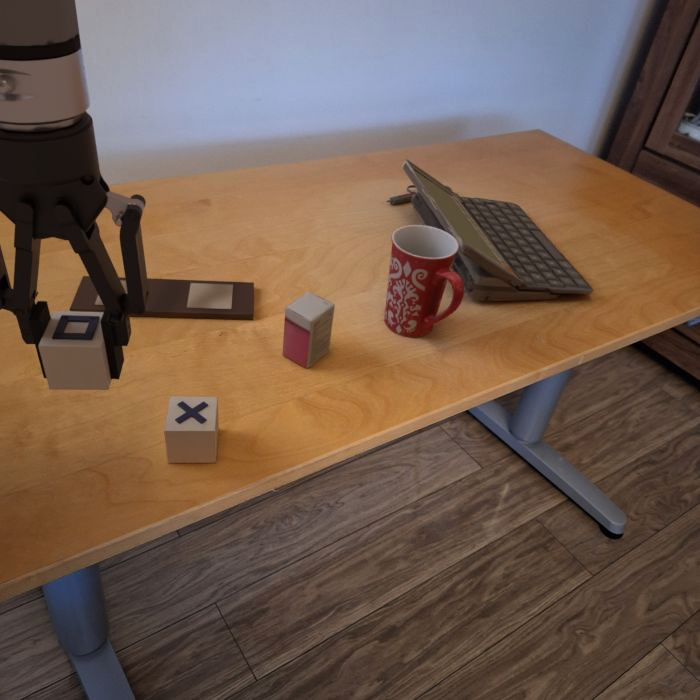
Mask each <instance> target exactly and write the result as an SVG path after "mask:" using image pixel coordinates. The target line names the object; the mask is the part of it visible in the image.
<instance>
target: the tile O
mask: <svg viewBox="0 0 700 700" xmlns="http://www.w3.org/2000/svg"><path fill="white" fill-rule="evenodd" d="M103 313H104V312H78V311H70V310H54V311H52V314H51V315H50V316H51V319H50V321H49V323H48V326H47V328H46V330H45V332H44V335H43V337H42V339H41V341H40V343H39V345H38V347H39V351H40V354H41V358H42V362H43V366H44V370H45V374H46V377H47V378H46V381H47V385H48V388H49V389H48V390H55V391H56V390H57V391H59V390H62V391H63V390H68V391H69V390H70V391H77V390H78V391H109V390H110V387H111V384H112V380H113V379H111V377H110V371H109V365H108V359H107V354H106V348H105V342H104V339H103V334H102V328H101V319H102V316H103Z"/></svg>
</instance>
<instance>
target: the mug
mask: <svg viewBox="0 0 700 700" xmlns="http://www.w3.org/2000/svg"><path fill="white" fill-rule="evenodd" d="M390 239H391V253H390V259H389V270H388V279H387V288H386V299H385V307H384V316H383V320H384V323H385V325H386V326H387V328H388V329H389V330H390V331H392V332H394V333H396V334H398V335H401V336H403V337H404V336H405V337H409V338H419V337H423V336H426V335H429V334H430V333H431V332H432V331H433V329H434V326H435V324H438V323H439V322H441V321H443V320H446V319H447V318H448V317H450V316H451V315H453V314H454V313H455V312H456V311H457V310H458V309H459V307H460V306H461V304H462V301H463V299H464V294H465V290H464V284H463V281H462V279H461V277H460V276H459V275H458V274H457V273H456V272H454V271H452V269H451V267H452V264H453V261H454V257H455V254H456V253H457V251H458V249H459V244H458V242H457V240H456V239H455V238H454V237H453V236H452V235H450V234H449V233H447V232H445V231H443V230H441V229H438V228H435V227H431V226H425V225H423V224H408V225H404V226H401V227H398V228H397V229H395V230H394V231H393V233H391V237H390ZM448 282H449V284H450V285H451V288H452V297H451V301H450V304H449V306H448V307H447V308H446V309H445V310H444V311H443V312H441V313H440V314H439V310H440V306H441V303H442V300H443V296H444V293H445V289H446V286H447V283H448Z"/></svg>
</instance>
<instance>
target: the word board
mask: <svg viewBox="0 0 700 700" xmlns="http://www.w3.org/2000/svg"><path fill="white" fill-rule="evenodd" d="M118 277H119V279H120V281H121V283H122V285H123V288H124V290H125V292H126V294H127V293H128V292H127V285H126V279H125V276H123V277H121V276H118ZM147 280H148V288H149V296H148V300H147V304H146V308H145V312H144V313H143V314H141V315H136V314H134V313H132V314H130V315H129V317H137V318H138V317H139V318H140V317H142V318H143V317H145V318H173V319H175V318H177V319H180V318H181V319H210V320H241V321H242V320H243V321H253V320H254V302H255V301H254V300H255V298H254V297H255V296H254V295H255V293H254V292H255V283H254V282H253V281H252V282H251V281H229V280H228V281H227V280H226V281H225V280H202V279H201V280H200V279H199V280H197V279H173V278H149V277H147ZM104 310H105V307H104V305H103V303H102V301H101V299H100V297H99V295H98V293H97V291H96V289H95V287H94V285H93V283H92V281H91V279H90V277H89V275H83V276H82V277H81V280H80V282H79V285H78V287H77V290H76V292H75V295H74V297H73V300H72V302H71V305H70V307H69V311H78V312H104Z"/></svg>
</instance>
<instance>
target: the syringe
mask: <svg viewBox="0 0 700 700" xmlns="http://www.w3.org/2000/svg"><path fill="white" fill-rule="evenodd" d="M445 186H446V187H447V188H448V189H450V190H451V191H453V189H452V187H450V186H448V185H445ZM411 188H412V189H413V188H414V189H416V187H415V186H414V184H411V185H408V186H407V187H406V192H408V193H404V194H399V195H394V196H391V197H389V199H387V200H386V201H383V202H381V204H383V203H388V204H389V203H390V205H394V204H399V203H404V202H410V201H412V197H413V195H414V194H415V193H416V191H413V190H411Z"/></svg>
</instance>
